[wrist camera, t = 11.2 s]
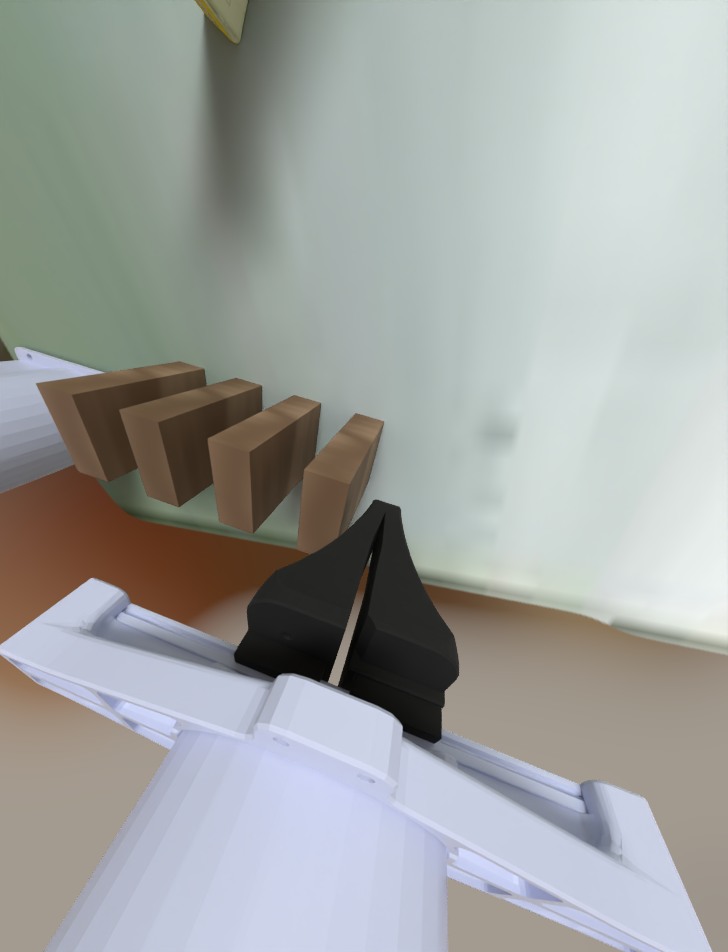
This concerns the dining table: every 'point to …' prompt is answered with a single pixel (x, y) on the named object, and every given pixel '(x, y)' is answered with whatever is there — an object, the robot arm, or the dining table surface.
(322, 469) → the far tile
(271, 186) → the dining table surface
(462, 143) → the dining table surface
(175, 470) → the tile
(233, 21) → the candy box
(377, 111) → the dining table surface
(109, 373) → the end tile
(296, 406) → the middle tile
